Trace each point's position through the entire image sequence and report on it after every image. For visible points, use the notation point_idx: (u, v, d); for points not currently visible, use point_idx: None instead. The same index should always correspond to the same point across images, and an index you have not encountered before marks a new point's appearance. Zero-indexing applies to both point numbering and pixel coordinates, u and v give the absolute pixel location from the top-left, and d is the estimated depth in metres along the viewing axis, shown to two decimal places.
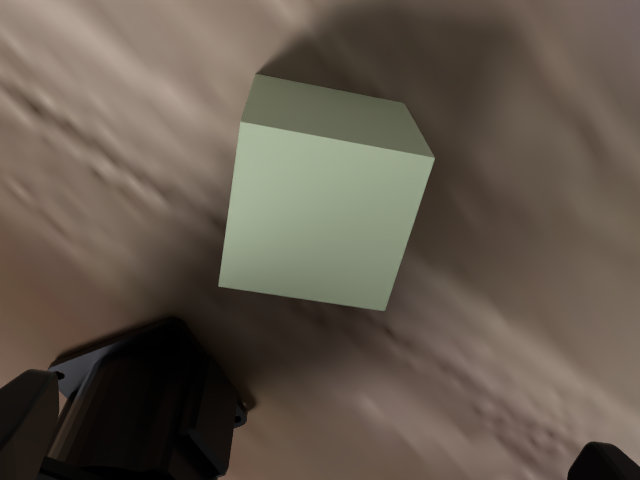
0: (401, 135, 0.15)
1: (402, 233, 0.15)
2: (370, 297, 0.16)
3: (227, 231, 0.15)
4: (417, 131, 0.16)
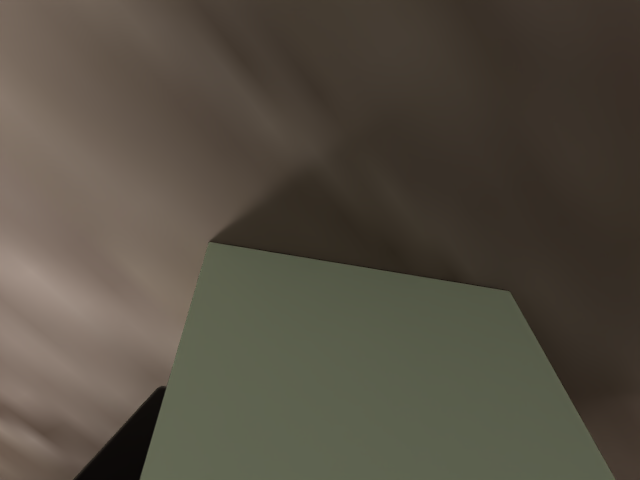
0: (561, 476, 0.06)
1: None
2: None
3: None
4: (584, 436, 0.07)
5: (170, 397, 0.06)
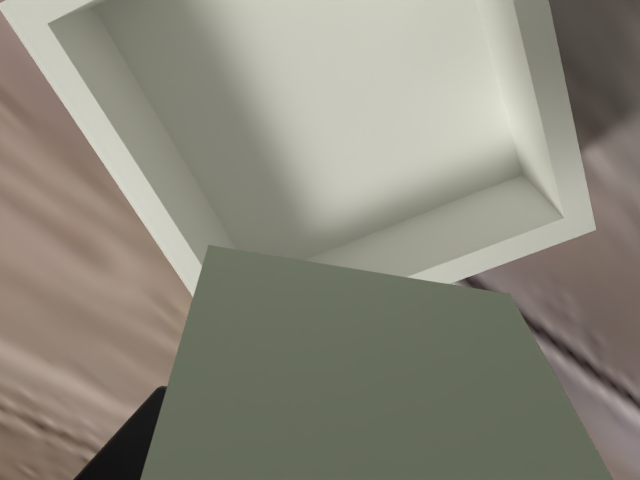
0: None
1: None
2: None
3: None
4: (585, 440, 0.07)
5: (169, 402, 0.06)
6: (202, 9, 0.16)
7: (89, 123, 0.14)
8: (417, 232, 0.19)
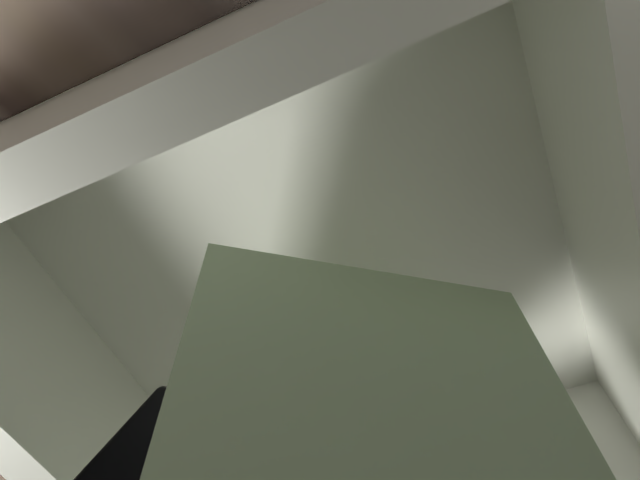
0: None
1: None
2: None
3: None
4: (587, 439, 0.06)
5: (169, 400, 0.06)
6: (140, 188, 0.11)
7: None
8: None
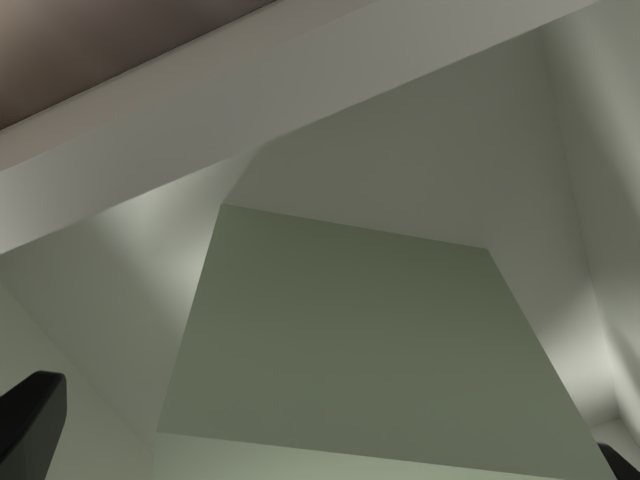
0: (519, 386, 0.07)
1: None
2: None
3: None
4: (543, 358, 0.08)
5: (193, 317, 0.07)
6: (123, 218, 0.10)
7: None
8: None
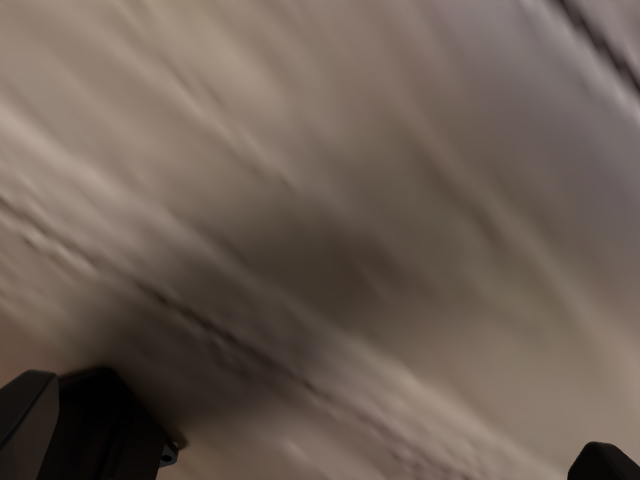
0: None
1: None
2: None
3: None
4: None
5: None
6: None
7: None
8: None
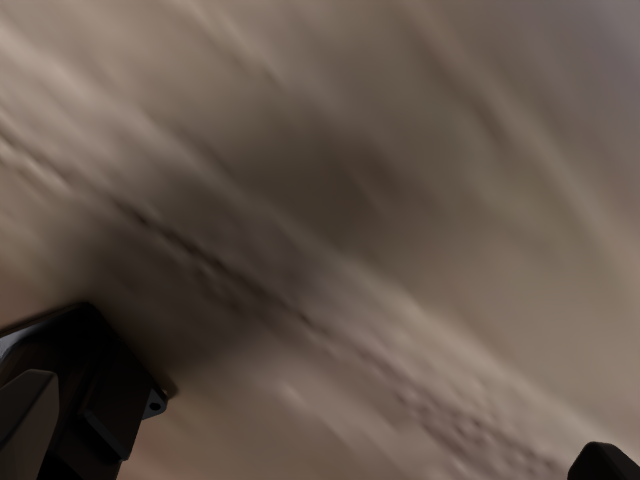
0: None
1: None
2: None
3: None
4: None
5: None
6: None
7: None
8: None
